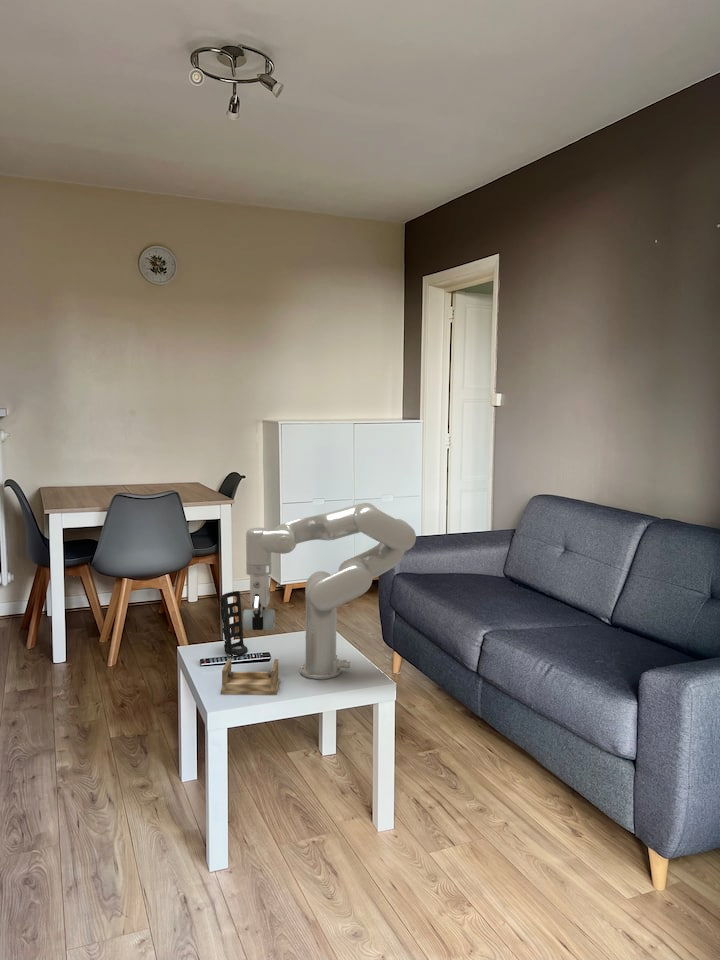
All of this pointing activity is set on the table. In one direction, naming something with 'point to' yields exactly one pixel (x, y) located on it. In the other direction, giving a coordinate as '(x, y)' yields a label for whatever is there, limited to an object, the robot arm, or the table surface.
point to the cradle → (250, 681)
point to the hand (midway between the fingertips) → (259, 625)
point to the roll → (267, 619)
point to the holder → (227, 625)
